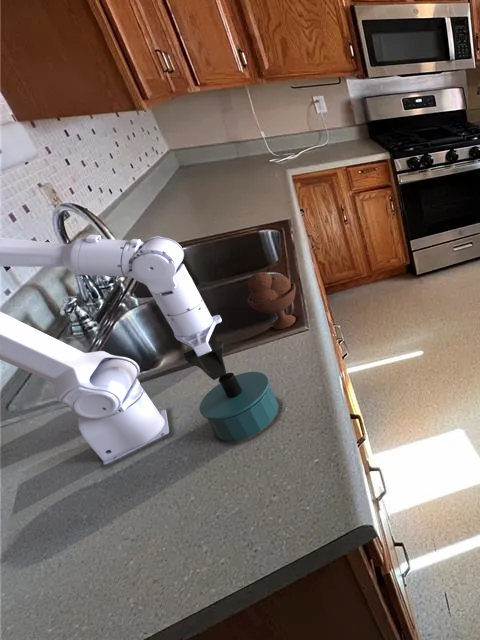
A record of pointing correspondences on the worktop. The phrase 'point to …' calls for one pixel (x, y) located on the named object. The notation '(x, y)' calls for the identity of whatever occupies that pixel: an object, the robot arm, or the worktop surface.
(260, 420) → the pot
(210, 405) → the lid
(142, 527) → the worktop surface
